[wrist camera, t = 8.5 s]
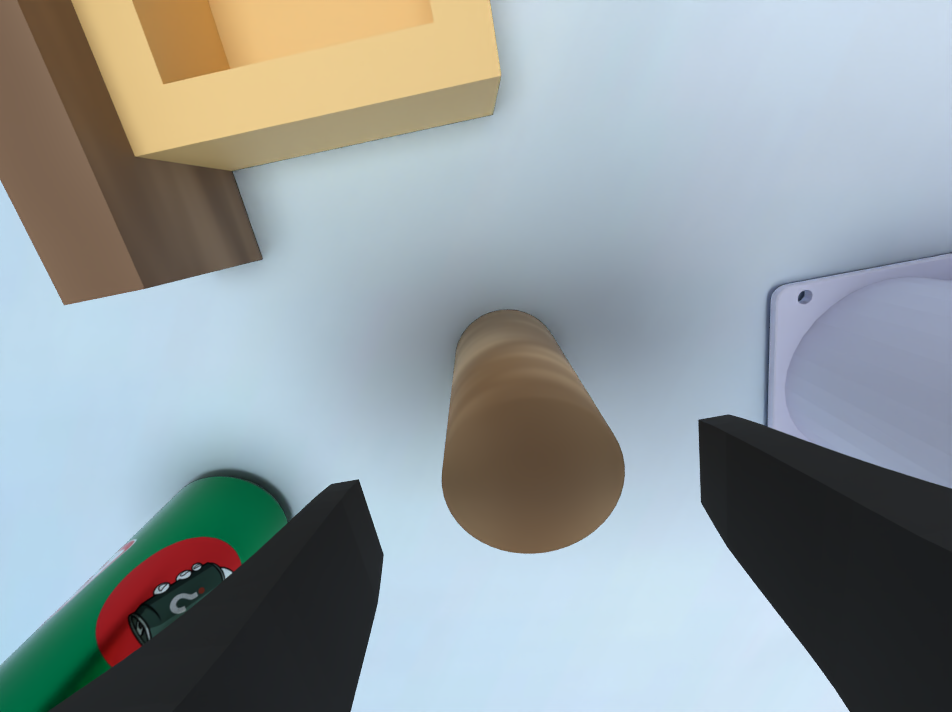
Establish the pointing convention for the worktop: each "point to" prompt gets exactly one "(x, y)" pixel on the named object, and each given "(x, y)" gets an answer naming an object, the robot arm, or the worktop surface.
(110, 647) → the soda can
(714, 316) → the worktop surface
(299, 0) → the socket block
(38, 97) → the walnut wall
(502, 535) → the dowel
